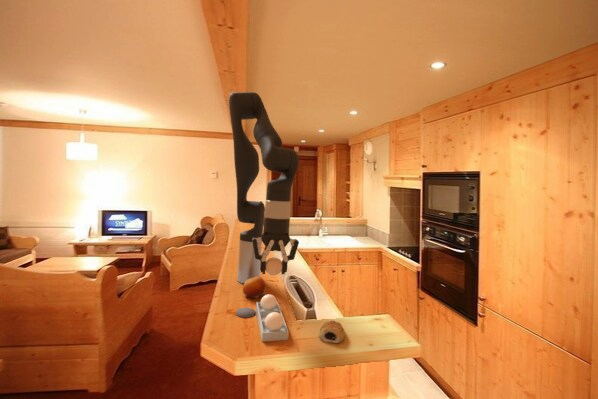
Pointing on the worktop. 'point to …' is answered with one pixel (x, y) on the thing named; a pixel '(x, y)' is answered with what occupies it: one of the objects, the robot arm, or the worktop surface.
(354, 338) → the worktop surface
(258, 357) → the worktop surface
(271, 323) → the egg
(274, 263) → the pale pink ball
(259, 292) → the fruit
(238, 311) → the mat
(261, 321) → the carton
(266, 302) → the egg
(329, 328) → the pastry
